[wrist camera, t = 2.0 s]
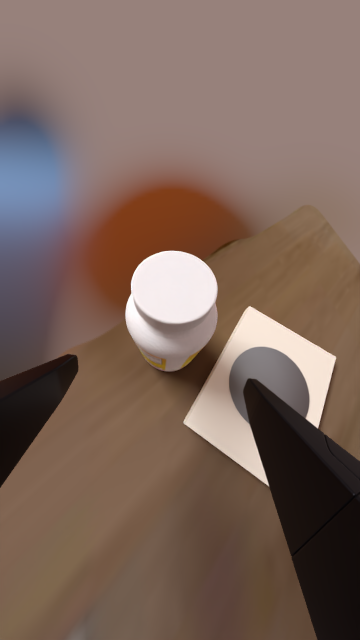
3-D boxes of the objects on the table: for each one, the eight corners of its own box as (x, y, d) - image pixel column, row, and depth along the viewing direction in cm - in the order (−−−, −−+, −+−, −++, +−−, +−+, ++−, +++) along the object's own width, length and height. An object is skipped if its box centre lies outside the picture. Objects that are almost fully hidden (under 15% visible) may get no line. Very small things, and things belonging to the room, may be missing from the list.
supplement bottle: (193, 318, 23) (226, 238, 11) (198, 370, 20) (250, 341, 8) (141, 319, 22) (116, 235, 10) (140, 373, 19) (105, 347, 7)
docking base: (288, 499, 16) (299, 508, 15) (183, 421, 18) (184, 424, 17) (327, 358, 22) (337, 357, 21) (245, 309, 24) (249, 305, 22)
